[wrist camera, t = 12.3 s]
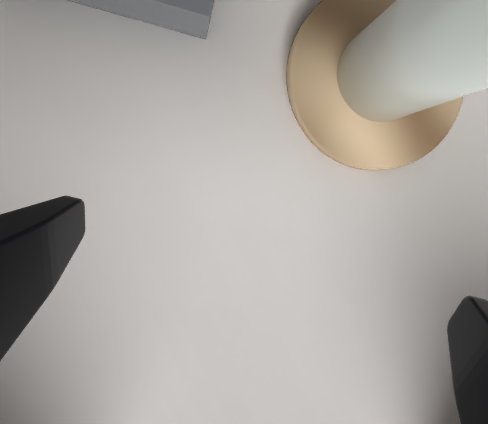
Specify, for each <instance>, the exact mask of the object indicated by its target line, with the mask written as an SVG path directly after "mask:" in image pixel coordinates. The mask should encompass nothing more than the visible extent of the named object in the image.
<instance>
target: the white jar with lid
mask: <svg viewBox="0 0 488 424" xmlns="http://www.w3.org/2000/svg"><path fill="white" fill-rule="evenodd" d="M337 80H338V86H339V90H340V92H341V95H342V97H343V99H344V101H345V102H346V104H347V105H348V106H349V107H350V108H351V109H352V110H353V111H354V112H355V113H356V114H358V115H359V116H361V117H363V118H365V119H367V120H370V121H375V122H386V121H391V120H395V119H398V118H401V117H403V116H406V115H409V114H412V113H415V112H418V111H421V110H424V109H427V108H430V107H433V106H436V105H439V104H442V103H445V102H448V101H451V100H454V99H457V98H460V97H463V96H466V95H469V94H472V93H475V92H478V91H481V90H483V89H486V88H488V0H396V1H395V2H394V3H393V4H392V5H391V6H390V7H388V8H387V9H386V10H385V11H384V12H383V13H382V14H381V15H379V16H378V17H377V18H376V19H375V20H374V21H373V22H372V23H370V24H369V25H368V26H367V27H366V28H365V29H364V30H362V31H361V32H360V33H359V34H358V35H357V36H356V37H355V38H353V39H352V40H351V41H350V42H349V43H348V45H347V46H346V47H345V49H344V50H343V52H342V54H341V57H340V60H339V63H338V69H337Z"/></svg>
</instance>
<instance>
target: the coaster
mask: <svg viewBox="0 0 488 424" xmlns="http://www.w3.org/2000/svg"><path fill="white" fill-rule="evenodd" d="M395 1H396V0H322V1H321V2H320V3H319V4H318V5H317V6H316V7H315V8H314V9H313V11H312V12H311V13H310V14H309V16H308V17H307V18H306V20H305V21H304V23H303V24H302V26H301V27H300V29H299V30H298V32H297V35H296V37H295V39H294V41H293V44H292V47H291V50H290V53H289V58H288V63H287V90H288V95H289V101H290V104H291V107H292V110H293V113H294V115H295V118H296V120H297V122H298V124H299V126H300V127H301V129H302V130H303V132H304V134H305V135H306V136H307V137H308V139H309V140H310V141H311V142H312V143H313V144H314V145H315V146H316V147H317V148H318V149H319V150H320V151H321V152H323V153H324V154H326V155H327V156H328V157H330V158H331V159H333V160H335V161H337V162H339V163H341V164H344V165H347V166H349V167H353V168H358V169H365V170H380V169H391V168H396V167H401V166H404V165H407V164H410V163H412V162H414V161H416V160H418V159H420V158H422V157H423V156H425V155H426V154H428V153H429V152H430V151H432V150H433V149H434V148H435V147H436V146H437V145H438V144H439V143H440V142H441V141H442V140H443V138H444V137H445V136H446V135H447V133H448V132H449V130H450V129H451V127H452V125H453V124H454V122H455V119H456V117H457V115H458V113H459V110H460V107H461V104H462V99H463V97H460V98H457V99H454V100H451V101H448V102H445V103H442V104H439V105H436V106H433V107H430V108H427V109H424V110H421V111H418V112H415V113H412V114H409V115H406V116H403V117H401V118H398V119H395V120H391V121H386V122H375V121H370V120H367V119H365V118H363V117H361V116H359V115H358V114H356V113H355V112H354V111H353V110H352V109H351V108H350V107H349V106H348V105H347V104H346V102H345V101H344V99H343V97H342V95H341V92H340V90H339V86H338V80H337V69H338V63H339V60H340V57H341V54H342V52H343V50H344V49H345V47H346V46H347V45H348V43H349V42H350V41H351V40H352V39H353V38H355V37H356V36H357V35H358V34H359V33H360V32H361V31H362V30H364V29H365V28H366V27H367V26H368V25H369V24H370V23H372V22H373V21H374V20H375V19H376V18H377V17H378V16H379V15H381V14H382V13H383V12H384V11H385V10H386V9H387V8H388V7H390V6H391V5H392V4H393V3H394V2H395Z"/></svg>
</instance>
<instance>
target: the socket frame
mask: <svg viewBox="0 0 488 424" xmlns="http://www.w3.org/2000/svg"><path fill="white" fill-rule="evenodd" d="M69 1H72V2H76V3H80V4H83V5H87V6H90V7H94V8H97V9H101V10H104V11H108V12H111V13H115V14H119V15H122V16H126V17H129V18H133V19H136V20H140V21H143V22H147V23H150V24H154V25H158V26H161V27H165V28H168V29H172V30H175V31H179V32H182V33H186V34H189V35H193V36H197V37H200V38H204V39H206V36H207V32H208V27H209V22H210V17H211V13H212V8H213V3H214V0H69Z"/></svg>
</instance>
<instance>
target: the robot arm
mask: <svg viewBox="0 0 488 424" xmlns="http://www.w3.org/2000/svg"><path fill="white" fill-rule="evenodd" d="M84 233H85V206H84V202H83V201H82V200H81V199H78V198H74V197H70V196H62V197H58V198H55V199H52V200H48V201H45V202H41V203H38V204H35V205H31V206H28V207H24V208H21V209H18V210H14V211H11V212H7V213H4V214H1V215H0V361H1V359H2V358H3V357H4V355H5V354H6V353H7V351H8V350H9V348H10V347H11V346H12V344H13V343H14V342H15V340H16V339H17V338H18V336H19V335H20V334H21V332H22V331H23V330H24V328H25V327H26V325H27V324H28V323H29V321H30V320H31V319H32V317H33V316H34V315H35V313H36V312H37V311H38V309H39V308H40V307H41V305H42V304H43V302H44V301H45V300H46V298H47V297H48V296H49V294H50V293H51V291H52V290H53V288H54V287H55V285H56V284H57V282H58V280H59V279H60V277H61V275H62V273H63V272H64V270H65V268H66V266H67V265H68V263H69V261H70V259H71V258H72V256H73V254H74V252H75V251H76V249H77V247H78V245H79V244H80V242H81V240H82V238H83V236H84ZM447 333H448V342H449V352H450V361H451V371H452V380H453V388H454V394H455V399H456V404H457V409H458V413H459V418H460V422H461V424H488V301H487V300H485V299H481V298H477V297H473V296H467V297H465V298H464V299H463V300H462V301H461V303H460V304H459V306H458V308H457V309H456V311H455V312H454V314H453V315H452V317H451V318H450V320H449V322H448V326H447Z"/></svg>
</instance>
